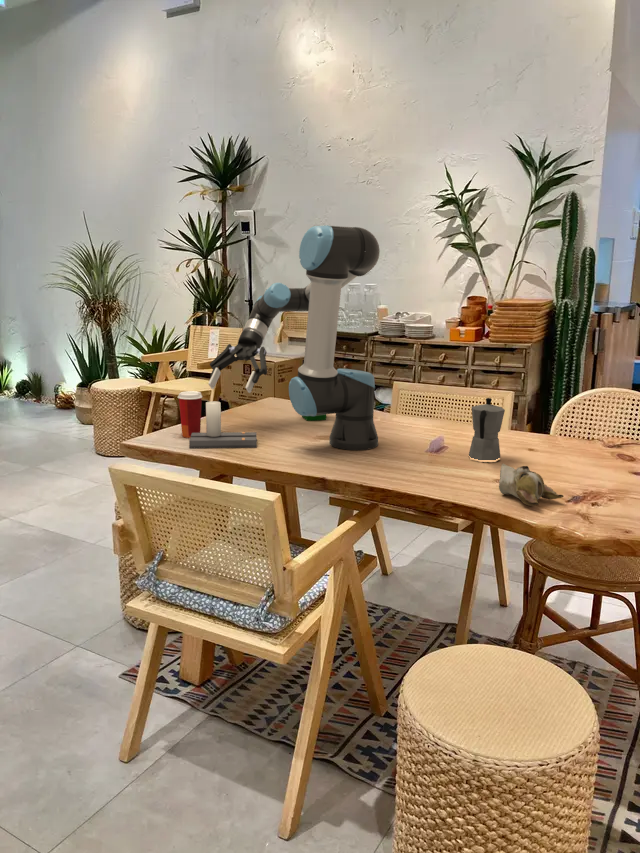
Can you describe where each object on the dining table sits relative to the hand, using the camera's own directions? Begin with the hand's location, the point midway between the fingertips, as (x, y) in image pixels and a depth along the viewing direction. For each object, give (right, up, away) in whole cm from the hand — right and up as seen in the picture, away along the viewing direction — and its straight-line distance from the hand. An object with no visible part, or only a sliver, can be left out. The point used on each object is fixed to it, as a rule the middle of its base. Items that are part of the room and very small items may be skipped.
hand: (229, 388), depth 213 cm
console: (-1, -17, -5) cm, 18 cm away
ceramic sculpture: (+78, -30, -51) cm, 97 cm away
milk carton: (+26, -9, +32) cm, 42 cm away
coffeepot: (+76, -22, -18) cm, 81 cm away
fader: (-4, -17, -5) cm, 19 cm away
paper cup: (-13, -15, +4) cm, 20 cm away
